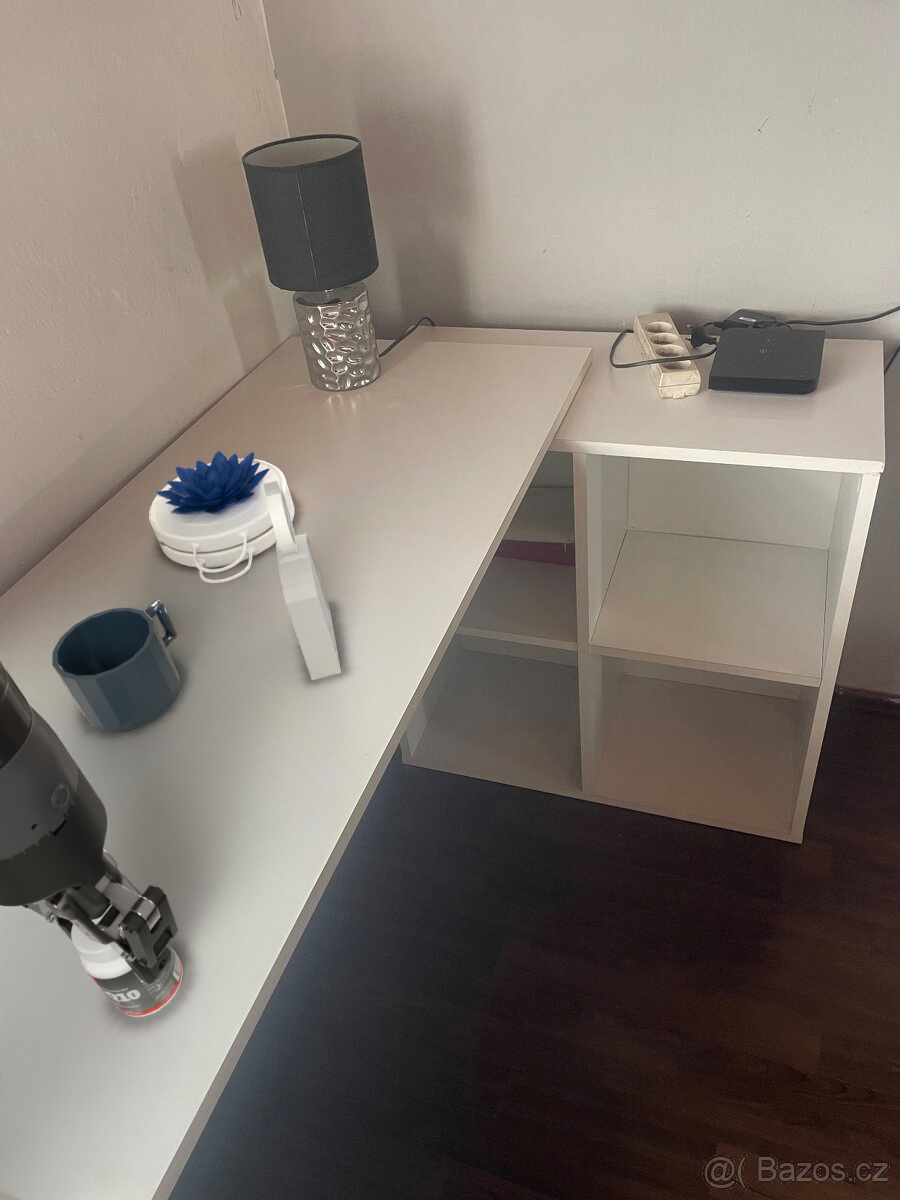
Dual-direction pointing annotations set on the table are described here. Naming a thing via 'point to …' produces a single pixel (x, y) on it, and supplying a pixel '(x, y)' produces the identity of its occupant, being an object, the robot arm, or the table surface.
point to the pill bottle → (126, 976)
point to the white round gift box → (217, 513)
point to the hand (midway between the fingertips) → (126, 953)
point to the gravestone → (303, 589)
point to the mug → (119, 667)
